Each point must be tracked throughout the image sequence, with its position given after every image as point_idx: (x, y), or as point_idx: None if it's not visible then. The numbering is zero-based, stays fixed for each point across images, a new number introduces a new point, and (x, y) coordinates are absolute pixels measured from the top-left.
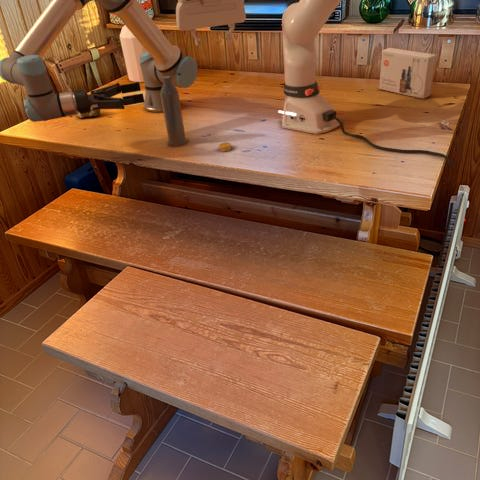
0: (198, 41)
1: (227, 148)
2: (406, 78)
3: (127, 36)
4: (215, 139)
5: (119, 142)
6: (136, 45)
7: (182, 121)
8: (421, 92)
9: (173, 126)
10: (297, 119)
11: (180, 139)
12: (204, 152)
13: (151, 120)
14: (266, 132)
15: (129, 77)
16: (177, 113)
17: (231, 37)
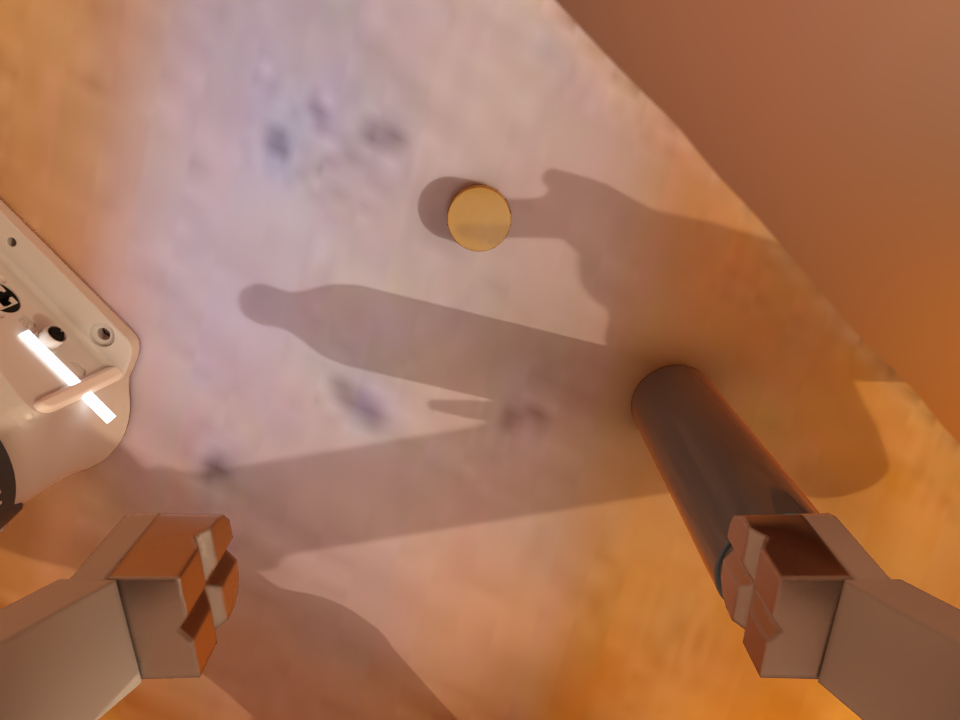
0: (816, 546)
1: (474, 187)
2: None
3: None
4: (494, 356)
5: (910, 523)
6: None
7: (666, 437)
8: None
9: (724, 410)
10: (32, 317)
11: (674, 377)
12: (588, 225)
13: (704, 687)
14: (231, 323)
15: None
16: (711, 446)
17: (115, 534)
